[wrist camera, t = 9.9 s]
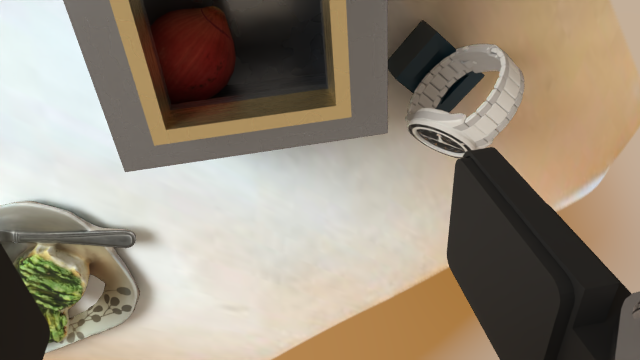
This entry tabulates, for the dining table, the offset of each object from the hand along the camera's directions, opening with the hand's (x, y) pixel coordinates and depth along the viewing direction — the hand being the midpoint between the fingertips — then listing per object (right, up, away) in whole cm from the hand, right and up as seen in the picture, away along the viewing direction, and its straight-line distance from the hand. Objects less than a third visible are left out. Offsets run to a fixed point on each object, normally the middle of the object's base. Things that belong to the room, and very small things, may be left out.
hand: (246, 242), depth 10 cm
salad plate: (-25, -7, +34) cm, 43 cm away
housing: (-4, +15, +23) cm, 28 cm away
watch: (+10, +11, +29) cm, 33 cm away
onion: (-5, +12, +21) cm, 25 cm away
